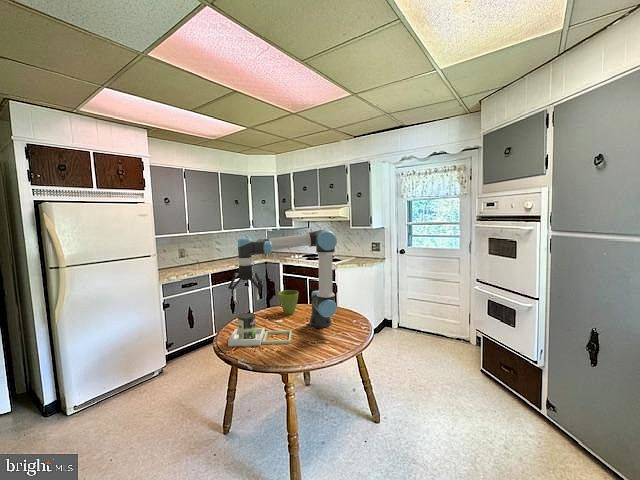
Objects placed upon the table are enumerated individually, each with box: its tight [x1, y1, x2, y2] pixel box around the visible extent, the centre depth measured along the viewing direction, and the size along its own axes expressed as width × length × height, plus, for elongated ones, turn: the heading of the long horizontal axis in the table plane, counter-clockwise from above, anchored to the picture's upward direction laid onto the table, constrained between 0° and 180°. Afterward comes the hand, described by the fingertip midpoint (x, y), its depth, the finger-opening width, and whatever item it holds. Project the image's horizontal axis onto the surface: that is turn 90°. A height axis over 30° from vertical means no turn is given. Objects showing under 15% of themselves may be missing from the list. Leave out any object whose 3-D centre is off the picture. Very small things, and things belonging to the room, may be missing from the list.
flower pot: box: [278, 289, 300, 315], centre depth 227 cm, size 15×15×16 cm
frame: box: [261, 330, 293, 345], centre depth 181 cm, size 16×16×2 cm
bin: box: [227, 327, 266, 347], centre depth 179 cm, size 18×18×4 cm
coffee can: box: [237, 312, 256, 340], centre depth 179 cm, size 10×10×14 cm
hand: (246, 299), depth 177 cm, fingers open, 13 cm apart
